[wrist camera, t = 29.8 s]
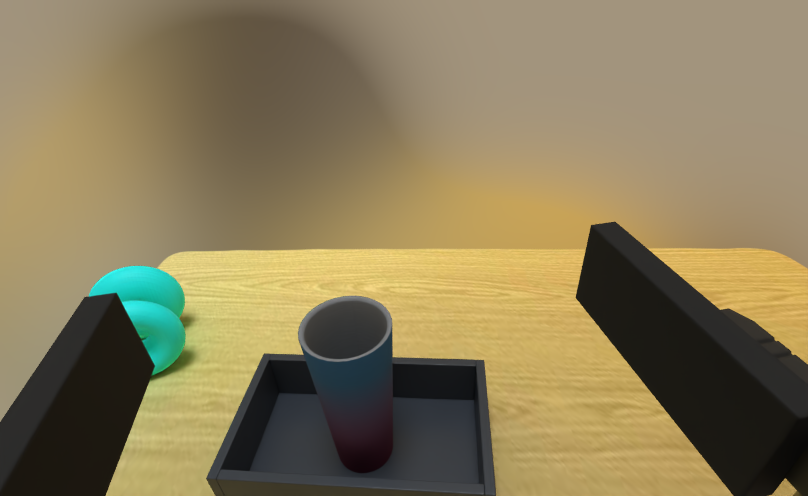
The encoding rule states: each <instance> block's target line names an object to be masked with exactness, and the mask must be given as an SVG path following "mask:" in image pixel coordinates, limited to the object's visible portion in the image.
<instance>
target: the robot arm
mask: <svg viewBox="0 0 808 496" xmlns="http://www.w3.org/2000/svg"><path fill="white" fill-rule="evenodd" d="M576 299H577V300H578V301H579V302H580V304H581V305H582V306H583V307H584V309H585V310H586V311H587V312H588V314H589V315H590V316H591V317H592V319H593V320H594V321H595V322H596V324H597V325H598V326H599V327H600V329H601V330H602V331H603V332H604V334H605V335H606V336H607V337H608V339H609V340H610V341H611V343H612V344H613V345H614V346H615V348H616V349H617V350H618V351H619V353H620V354H621V355H622V356H623V358H624V359H625V360H626V361H627V363H628V364H629V365H630V366H631V368H632V369H633V370H634V371H635V373H636V374H637V375H638V376H639V378H640V379H641V380H642V381H643V383H644V384H645V385H646V386H647V388H648V389H649V390H650V391H651V393H652V394H653V395H654V396H655V398H656V399H657V400H658V401H659V403H660V404H661V405H662V406H663V408H664V409H665V410H666V411H667V413H668V414H669V415H670V417H671V418H672V419H673V420H674V422H675V423H676V424H677V425H678V427H679V428H680V429H681V430H682V432H683V433H684V434H685V435H686V437H687V438H688V439H689V440H690V442H691V443H692V444H693V445H694V447H695V448H696V449H697V450H698V452H699V453H700V454H701V455H702V457H703V458H704V459H705V460H706V462H707V463H708V464H709V465H710V467H711V468H712V469H713V470H714V472H715V473H716V474H717V475H718V477H719V478H720V479H721V480H722V482H723V483H724V484H725V485H726V487H727V488H728V489H729V491H730V492H731V493H732V494H733V496H768V495H772V494H773V493H774V491H775V490H776V489H777V488H778V486H779V485H780V484H781V482H782V481H783V480H784V479H785V478H786V479H787V480H788V481H789V482H790V483H791V484H792V485H793V487H794V488H795V489H796V490H797V492H796V493H795V494H794V495H793V496H808V364H806V363H805V362H804V361H803V360H801V359H800V358H799V357H798V356H796V355H792V354H791V351H790V350H789V349H788V348H786V347H785V346H784V345H783V344H781V343H780V342H779V341H775V340H774V337H773V336H771V335H770V334H769V333H768V332H767V331H765V330H764V329H763V328H762V327H760V326H759V325H758V324H757V323H755V322H754V321H752V320H750V319H748V318H746V317H744V316H742V315H740V314H739V313H737V312H735V311H733V310H731V309H723V310H719V309H718V308H717V307H716V306H715V305H713V304H712V303H711V302H710V301H709V300H707V299H706V298H705V297H704V296H703V295H702V294H700V293H699V292H698V291H697V290H696V289H694V288H693V287H692V286H691V285H690V284H689V283H687V282H686V281H685V280H684V279H683V278H681V277H680V276H679V275H678V274H677V273H675V272H674V271H673V270H672V269H671V268H670V267H668V266H667V265H666V264H665V263H664V262H662V261H661V260H660V259H659V258H658V257H656V256H655V255H654V254H653V253H652V252H651V251H649V250H648V249H647V248H646V247H645V246H643V245H642V244H641V243H640V242H639V241H638V240H636V239H635V238H634V237H633V236H632V235H630V234H629V233H628V232H627V231H626V230H624V229H623V228H622V227H621V226H620V225H619V224H617V223H616V222H611V223H603V224H596V225H591V228H590V233H589V238H588V242H587V247H586V252H585V256H584V261H583V266H582V270H581V275H580V280H579V285H578V289H577V294H576ZM154 368H155V365H154V363H153V361H152V359H151V357H150V355H149V353H148V351H147V350H146V348H145V346H144V344H143V342H142V340H141V338H140V336H139V334H138V332H137V331H136V329H135V327H134V325H133V323H132V321H131V319H130V317H129V315H128V313H127V311H126V310H125V308H124V306H123V304H122V302H121V300H120V298H119V296H118V294H117V293H110V294H103V295H96V296H89V297H85V298H84V299H83V300H82V302H81V303H80V305H79V306H78V308H77V309H76V311H75V312H74V314H73V315H72V317H71V318H70V320H69V321H68V323H67V324H66V326H65V327H64V329H63V330H62V331H61V333H60V334H59V336H58V337H57V339H56V340H55V342H54V343H53V345H52V346H51V348H50V349H49V351H48V352H47V354H46V355H45V357H44V358H43V360H42V361H41V363H40V364H39V366H38V367H37V368H36V370H35V372H34V373H33V374H32V376H31V377H30V379H29V380H28V382H27V383H26V385H25V387H24V388H23V389H22V391H21V392H20V394H19V395H18V397H17V398H16V400H15V401H14V403H13V404H12V405H11V407H10V408H9V410H8V411H7V413H6V414H5V416H4V417H3V419H2V420H1V422H0V496H105V495H106V493H107V490H108V487H109V485H110V482H111V480H112V477H113V474H114V472H115V469H116V467H117V464H118V461H119V459H120V456H121V454H122V451H123V448H124V446H125V443H126V441H127V438H128V435H129V433H130V430H131V428H132V425H133V422H134V420H135V417H136V415H137V412H138V409H139V407H140V404H141V402H142V399H143V396H144V394H145V391H146V389H147V386H148V383H149V381H150V378H151V376H152V373H153V370H154Z"/></svg>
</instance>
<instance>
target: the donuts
mask: <svg viewBox="0 0 808 496" xmlns="http://www.w3.org/2000/svg"><path fill="white" fill-rule="evenodd" d="M110 293H117V294H118V296H119V298H120V300H121V302H122V304H123V306H124V308H125V310H126V311H127V313H128V315H129V317H130V319H131V321H132V323H133V325H134V327H135V329H136V331H137V332H138V334H139V336H140V338H141V339H142V338H146V339H144V340H142V342H143V344H144V346H145V348H146V350H147V351H148V353H149V355H150V357H151V359H152V361H153V363H154V365H155V368H154V370H153V373H152V375H155V374H157V373H159V372H161V371H163V370H165V369H166V368H168V367H169V366H170V365H171V364H172V363H174V361H175V360H176V359H177V358H178V357H179V356H180V354H181V352H182V350H183V348H184V345H185V329H184V326H183V324H182V322H181V320H180V319H179V318H180V316H181V314H182V312H183V309H184V305H185V297H184V292H183V290H182V288H181V286H180V284H179V283H178V282H177V281H176V280H175V279H174V278H173V277H172V276H171V275H169V274H168V273H166V272H164V271H162V270H159V269H156V268H152V267H147V266H129V267H124V268H120V269H117V270H114V271H112V272H110V273H108V274H106V275H105V276H103V277H102V278H101V279H100V280H99V281H98V282H97V283H96V284H95V285H94V286H93V288H92V289H91V291H90V294H89V296H96V295H103V294H110Z"/></svg>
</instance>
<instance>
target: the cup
mask: <svg viewBox="0 0 808 496" xmlns="http://www.w3.org/2000/svg"><path fill="white" fill-rule="evenodd" d="M298 338H299V342H300V345H301V348H302V351H303V354H304V357H305V359H306V362H307V365H308V368H309V371H310V374H311V377H312V380H313V383H314V386H315V388H316V391H317V394H318V397H319V400H320V403H321V406H322V409H323V412H324V414H325V417H326V420H327V423H328V426H329V429H330V432H331V435H332V438H333V441H334V443H335V446H336V449H337V452H338V455H339V458H340V460H341V462H342V463H343V465H344V466H345V467H346V468H348V469H349V470H351V471H354V472H357V473H369V472H372V471H375V470H377V469H379V468H380V467H382V466H383V465H384V464H385V463H386V462H387V461H388V459H389V458H390V456H391V453H392V449H393V366H392V318H391V315H390V313H389V312H388V310H387V309H386V308H385V307H384V306H383V305H382V304H381V303H379V302H377V301H375V300H373V299H370V298H367V297H362V296H343V297H338V298H334V299H331V300H328V301H326V302H323V303H321V304H319V305H318V306H316V307H315V308H313V309H312V310H311V311H310V312H309V313H308V314H307V315H306V316H305V317H304V319H303V320H302V322H301V324H300V326H299V331H298Z"/></svg>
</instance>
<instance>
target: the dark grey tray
mask: <svg viewBox="0 0 808 496" xmlns="http://www.w3.org/2000/svg"><path fill="white" fill-rule="evenodd" d="M392 366H393V449H392V453H391V456H390V458H389V459H388V461H387V462H386V463H385V464H384V465H383V466H382V467H380V468H379V469H377V470H375V471H372V472H369V473H357V472H354V471H351V470H349V469H348V468H346V467H345V466H344V465H343V463H342V462H341V460H340V458H339V455H338V452H337V449H336V446H335V443H334V441H333V438H332V435H331V432H330V429H329V426H328V423H327V420H326V417H325V414H324V412H323V409H322V406H321V403H320V400H319V397H318V394H317V391H316V388H315V386H314V383H313V380H312V377H311V374H310V371H309V368H308V365H307V362H306V359H305V357H304V355H292V354H264V355H263V357H262V359H261V361H260V363H259V365H258V368H257V370H256V372H255V374H254V376H253V378H252V381H251V383H250V385H249V387H248V389H247V391H246V393H245V396H244V398H243V400H242V402H241V404H240V406H239V409H238V411H237V413H236V415H235V417H234V419H233V422H232V424H231V426H230V428H229V430H228V432H227V435H226V437H225V439H224V441H223V443H222V445H221V447H220V450H219V452H218V454H217V456H216V458H215V460H214V463H213V465H212V467H211V469H210V471H209V473H208V476H207V478H206V479H207V481H208V483H209V485H210V486H211V488H212V490H213V492H214V494H215V496H496V488H495V476H494V465H493V454H492V443H491V432H490V420H489V409H488V398H487V387H486V375H485V364H484V360H467V359H432V358H397V357H392Z"/></svg>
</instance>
